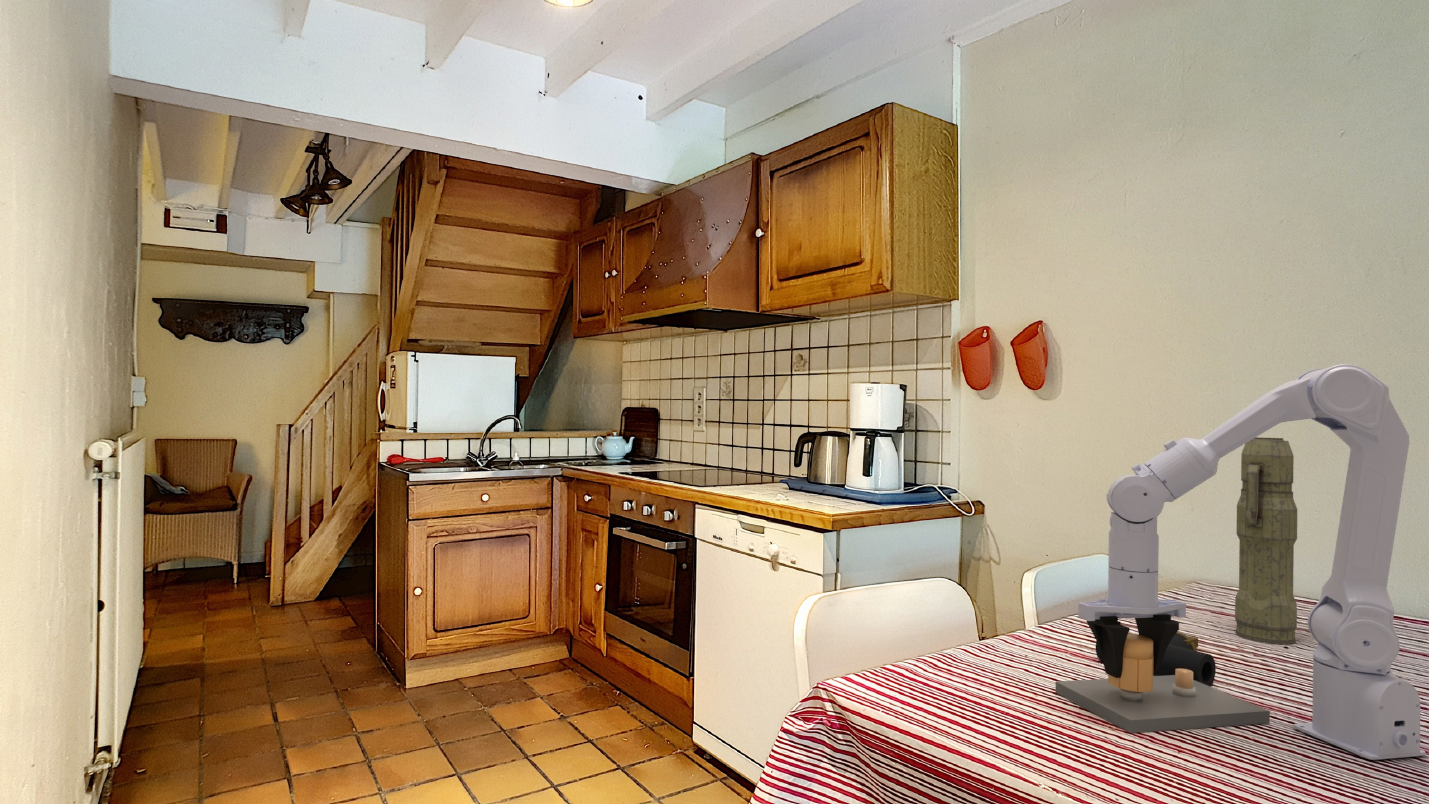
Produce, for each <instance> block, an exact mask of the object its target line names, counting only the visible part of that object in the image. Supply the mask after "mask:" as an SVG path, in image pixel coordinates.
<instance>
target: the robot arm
mask: <svg viewBox="0 0 1429 804" xmlns="http://www.w3.org/2000/svg"><path fill="white" fill-rule="evenodd" d="M1302 420H1304V421H1305V420H1312V421H1314V422H1317V423H1318V424H1321V425H1323V426H1325V427H1326V428H1329V429H1330V431H1332V432H1333V433H1334V434H1335V435H1336V436H1337V437H1338V438H1339V439H1341V440H1342V441H1343V443H1345V444H1346V446H1348V447H1349V449H1350V451H1349V459H1348V463H1347V464H1348V466H1347V471H1346V478H1345V483H1344V489H1343V490H1344V491H1343V497H1342V503H1341V510H1340V517H1339V524H1338V528H1337V529H1338V530H1337V534H1336V535H1337V537H1336V541H1335V550H1334V556H1333V561H1332V569H1331V573H1330V574H1331V575H1330V576H1329V578H1328V579H1327V580H1326V582H1325V583H1324V585H1323V586H1322V588H1321V591H1320V592H1321V594H1320V598H1319V599H1318V600H1319V601H1317V603H1316V605H1314V606H1313V607H1312V609H1311V610H1310V611H1309V613H1308V615H1307V616H1308V617H1307V628H1308V631H1309V633H1310V636H1312V638H1313V639H1314V640H1315V641H1316V642H1318V643H1317V646H1316V649H1315V650H1314V651H1313V652H1312V713H1311V714H1312V718H1311V721H1312V722H1302V723H1294V724H1293V725H1292V727H1293V729H1295V730H1298V731H1301V732H1302V733H1304V734H1307V735H1310V736H1312V737H1314V738H1317V739H1320V740H1322V741H1324V742H1326V743H1329V744H1331V745H1333V746H1336V747H1338V748H1340V749H1343V750H1346V751H1348V752H1349V753H1353V754H1356V755H1357V756H1360V757H1362V758H1365V759H1368V760H1370V761H1371V760H1372V761H1374V760H1375V761H1376V760H1387V759H1389V760H1390V759H1397V758H1398V759H1399V758H1401V759H1402V758H1410V757H1411V758H1412V757H1420V756H1421V757H1422V756H1426V751H1425V750H1423V749H1421V699H1420V695H1419V693H1418V691H1417V688H1415V686H1414V685H1413V684H1411V683H1410V682H1408V681H1407V680H1405V679H1401V678H1399V677H1398V676H1397V675H1396V674H1394V673H1393V672H1392V670H1391V669H1392V663H1393V662H1394V661H1396V659H1397V657H1398V655H1399V653H1400V649H1401V646H1400V643H1401V642H1400V640H1399V637H1398V634H1397V632H1396V630H1395V625H1394V616H1395V609H1394V605H1393V603H1392V600H1391V597H1390V595H1389V592H1388V582H1389V575H1390V569H1391V563H1392V556H1393V551H1394V550H1393V549H1394V545H1395V544H1394V542H1395V536H1396V530H1397V523H1398V516H1399V512H1400V511H1399V510H1400V504H1401V499H1402V492H1403V485H1404V479H1405V473H1406V465H1407V460H1408V453H1409V446H1410V436H1409V433H1408V431H1407V429H1406V427H1405V425H1404V423H1403V421H1402V419H1401V417H1400V415H1399V414H1398V412H1397V410H1396V408H1395V406H1394V404H1393V403H1392V400H1391V399H1390V392H1389V386H1388V385H1387V384H1385V382H1383V381H1382V380H1381V379H1379V378H1378V377H1376V376H1375V375H1374V374H1372V372H1371V371H1369V370H1367V369H1366V368H1364V367H1362V366H1359V365H1356V364H1350V363H1342V364H1336V365H1332V366H1330V367H1327V368H1317V369H1311V370H1308V371H1306V372H1303V373H1302V374H1300V375H1299V376H1298V377H1297V378H1296V379H1293V380H1289V381H1288V382H1285V383H1282V384H1281V385H1279V386H1277V387H1276V388H1273V389H1271V390H1270V391H1268V392H1266V393H1264V394H1263V395H1261V396H1260V397H1259V398H1257V399H1255V400H1254V401H1253V402H1252V403H1250V404H1249V405H1247V406H1246V407H1244V408H1243V409H1242V410H1240V411H1239V412H1237V413H1236V414H1234V415H1233V416H1231V417H1230V418H1228V419H1227V420H1226V421H1224V422H1223V423H1221V424H1220V425H1218V426H1217V427H1216V428H1215V429H1213V430H1212V431H1210V432H1209V433H1208V434H1206V435H1204V436H1203V437H1202V438H1199V439H1198V438H1192V437H1182V438H1180V439H1179V440H1177V441H1176V440H1175V439H1170V440H1168V441H1166V443H1164V444H1163V447H1164V448H1165V449H1164V450H1162V451H1161V452H1158V454H1156V455H1154V456H1153V457H1151V458H1150V459H1148V460H1147V461H1145V462H1144V463H1143V464H1139V463H1135V464H1134V465H1132V466H1131V470H1132V471H1133V473H1134V474H1126V475H1122V476H1120V477H1117V478H1116V479H1114V481H1113V482H1112V483H1111V484H1110V487H1109V489H1108V493H1106V495H1105V496H1106V502H1107V504H1108V506H1109V507H1110V509H1111V510H1112V511H1111V512H1110V517H1109V526H1110V529H1109V531H1108V564H1107V565H1108V571H1107V572H1108V573H1107V574H1108V578H1107V579H1108V581H1107V583H1108V584H1107V585H1108V587H1107V588H1108V590H1107V595H1106V596H1105V598H1103V599H1098V600H1097V599H1096V600H1091V601H1084V602H1083V601H1082V602H1078V617H1077V618H1079V619H1081V620H1085V621H1086V624H1087V625H1088V627H1089V629H1090V631H1091V632H1092V635H1093V636H1094V639H1095V642H1096V641H1097V644H1098V646H1099V649H1100V653H1101V656H1102V660H1103V661H1102V664H1103V668H1104V671H1105V674H1106V675H1107V676H1108V675H1111V676H1113V677H1115V678H1121V675H1122V668H1123V651H1124V646H1125V642H1126V638H1127V635H1128V634H1130V627H1128V626H1127V625H1123V624H1121V621H1119V620H1120V619H1134V620H1135V625H1136V629H1137V633H1138V635H1141V636H1145V637H1148V638H1150V639H1152V640H1153V656H1154V667H1153V676H1158V673H1159V669H1160V666H1161V663H1162V660H1163V657H1164V654H1165V651H1166V649H1167V647H1168V645H1169V643H1170V641H1171V640H1172V638H1173V637H1174V635H1175V634H1176V633H1177V632H1179V630H1180V622H1179V621H1178V620H1177V621H1176V620H1174V619H1172V618H1174V617H1175V618H1179V619H1180V618H1181V619H1185V618H1187V603H1186V602H1184V601H1181V600H1177V599H1162V598H1160V599H1159V554H1160V553H1159V549H1160V547H1159V541H1160V540H1159V537H1160V536H1159V533H1158V517H1159V515H1160V514H1161V513H1162V512H1163V508H1164V506H1165V503H1173V502H1174V501H1176V500H1177V499H1179V498H1181V497H1182V496H1184V495H1186V494H1187V493H1188V492H1190V491H1192V490H1193V489H1195V488H1196V487H1198V486H1199V485H1201V484H1202V483H1204V482H1206V481H1207V480H1209V479H1211V478H1212V477H1214V476H1215V475H1216V474H1217V472H1218V465H1219V461H1220V460H1221V458H1224V457H1226V455H1228V454H1230V453H1231V452H1234V451H1235V450H1236V449H1238V448H1240V447H1242V446H1245V443H1247V442H1249V441H1250V440H1252V439H1254V438H1255V437H1257V438H1258V437H1259V436H1261V435H1262V434H1264V433H1266V432H1267V431H1269V430H1271V429H1272V428H1274V427H1276V426H1277V425H1279V424H1281V423H1287V422H1294V421H1302Z"/></svg>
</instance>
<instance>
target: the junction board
mask: <svg viewBox="0 0 1429 804" xmlns="http://www.w3.org/2000/svg"><path fill="white" fill-rule="evenodd" d="M1055 694H1057V695H1059V696H1061V697H1063V698H1065V699H1067V700H1068V701H1070V702H1072V703H1074V704H1076V705H1078V706H1080V707H1081V708H1083V709H1086V710H1087V711H1088V712H1091V713H1092V714H1094V715H1096V716H1098V717H1100V718H1102V719H1104V720H1105V721H1107V722H1109V723H1111V724H1113V725H1114V726H1117V727H1118V728H1120V729H1122V730H1124V731H1126V732H1128V733H1130V734H1135V733H1151V732H1162V731H1165V732H1166V731H1178V730H1191V729H1193V730H1194V729H1203V728H1204V729H1206V728H1219V727H1235V726H1245V725H1247V726H1248V725H1249V726H1250V725H1259V724H1263V725H1264V724H1270V722H1271V720H1270V719H1271V718H1270V717H1271V716H1270V715H1271V711H1270V710H1269V709H1266V708H1263V707H1262V706H1258V705H1256V704H1254V703H1252V702H1249V701H1247V700H1244V699H1241V698H1239V697H1237V696H1234V695H1231V694H1230V693H1227V692H1225V691H1221V690H1219V689H1218V688H1217V689H1216V688H1215V687H1212V686H1211V687H1210V686H1207V685H1205V684H1202V683H1200V682H1197V681H1195V680H1193V671H1191V670H1187V669H1180V668H1179V669H1176V671H1175V675H1167V676H1153V690H1152V691H1147V692H1135V691H1129V690H1124V689H1120V688H1117V687H1115V686H1113V685H1111V684H1109V683H1108V678H1096V679H1093V678H1092V679H1080V680H1079V679H1078V680H1059V681H1055Z"/></svg>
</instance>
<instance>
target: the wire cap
mask: <svg viewBox="0 0 1429 804" xmlns="http://www.w3.org/2000/svg"><path fill="white" fill-rule="evenodd" d="M1153 667H1154V656H1153V640H1152V639H1150V638H1148V637H1145V636H1141V635H1139V634H1134V633H1128V635H1127V638H1126V642H1125V646H1124V651H1123V668H1122V675H1121V678H1115V677H1113V676H1111V675H1108V674H1107V676H1108V678H1107V679H1108V683H1109V684H1111V685H1113V686H1115V687H1117V688H1120V689H1124V690H1129V691H1135V692H1147V691H1152V690H1153Z"/></svg>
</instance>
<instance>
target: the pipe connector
mask: <svg viewBox="0 0 1429 804" xmlns="http://www.w3.org/2000/svg"><path fill="white" fill-rule="evenodd" d="M1198 648H1199V638H1198V637H1194V636H1190V635H1187V634H1185V633H1182V632H1179V631H1178V632H1177V633H1176V634H1175V635H1174V637H1173V638H1172V640H1171V641H1170V643H1169V645H1168V647H1167V649H1166V651H1165V654H1164V657H1163V660H1162V663H1161V666H1160V669H1159V673H1158V676H1167V675H1175V671H1176V669H1179V668H1180V669H1187V670H1191V671H1193V680H1195V681H1197V682H1200V683H1202V684H1205V685H1207V686H1210V687H1212V685H1213V684H1214V680H1215V678H1216V669H1217V666H1216V661H1215V658H1214V656H1213V655H1211V654H1209V653H1206V652H1202V651H1198ZM1095 654H1096V657H1097V659H1098V660H1099V661H1102V662H1103V660H1102V656H1101V653H1100V649H1099V646H1098V644H1097V641H1096V640H1095Z"/></svg>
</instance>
